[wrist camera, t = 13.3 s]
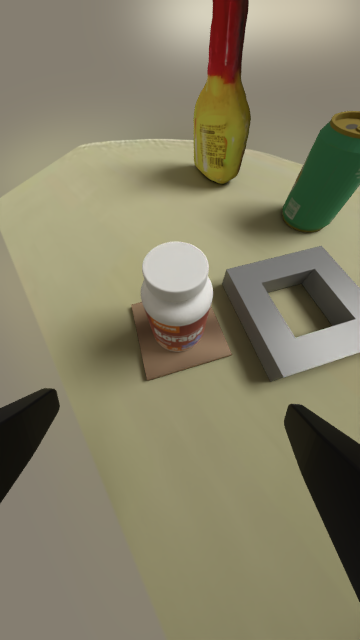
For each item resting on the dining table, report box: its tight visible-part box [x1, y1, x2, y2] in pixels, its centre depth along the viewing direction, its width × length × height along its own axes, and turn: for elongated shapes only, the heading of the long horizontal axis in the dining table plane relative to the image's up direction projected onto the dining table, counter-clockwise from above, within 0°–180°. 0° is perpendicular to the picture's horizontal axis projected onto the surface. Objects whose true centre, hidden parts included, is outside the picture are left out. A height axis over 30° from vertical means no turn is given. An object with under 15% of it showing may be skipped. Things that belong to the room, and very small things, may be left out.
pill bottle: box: [141, 242, 213, 352], centre depth 18 cm, size 6×6×11 cm
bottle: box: [194, 0, 251, 184], centre depth 30 cm, size 12×6×20 cm, turn 35°
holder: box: [222, 246, 360, 382], centre depth 23 cm, size 14×14×3 cm
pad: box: [132, 302, 232, 381], centre depth 23 cm, size 10×10×1 cm
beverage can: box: [282, 111, 360, 232], centre depth 27 cm, size 8×8×12 cm
